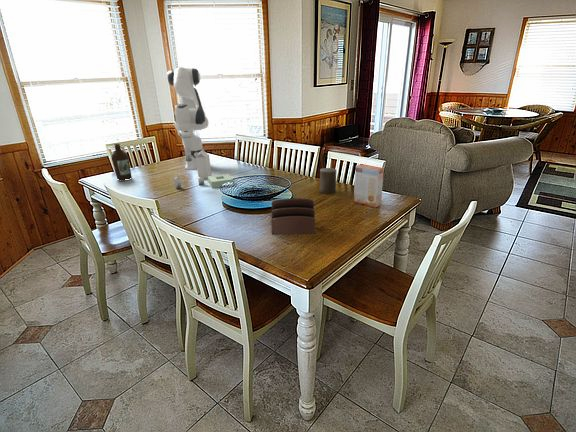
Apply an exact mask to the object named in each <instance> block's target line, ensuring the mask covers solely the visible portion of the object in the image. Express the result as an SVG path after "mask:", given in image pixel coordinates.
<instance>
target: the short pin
mask: <svg viewBox="0 0 576 432" xmlns="http://www.w3.org/2000/svg"><path fill="white" fill-rule="evenodd" d="M197 181H198V186H199V187H200V186H201V187H202V186H205V178H204V177H197Z"/></svg>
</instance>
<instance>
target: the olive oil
mask: <svg viewBox="0 0 576 432" xmlns="http://www.w3.org/2000/svg"><path fill="white" fill-rule="evenodd" d="M111 162H112V166H113V169H114V172H115V176H116V179H119V180H125V179H130V178H132V179H133V175H132V170H131V163H130V158H129V155H128V153H127V152H126V151H124V150H122V147H121V145H120V142H119V143H114V152H112V154H111Z"/></svg>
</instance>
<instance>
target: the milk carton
mask: <svg viewBox="0 0 576 432" xmlns="http://www.w3.org/2000/svg"><path fill="white" fill-rule="evenodd" d="M196 162H197V169H196V170H197V175H198V177H204V179H208V176H212V169H211V160H210V154H208V153H207V152H206V151H205V150H204V148H203V150H202V151H200V152H199V153H198V156H197V157H196ZM198 177H197V178H198Z"/></svg>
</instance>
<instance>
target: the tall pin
mask: <svg viewBox="0 0 576 432" xmlns="http://www.w3.org/2000/svg"><path fill="white" fill-rule="evenodd" d="M183 147H184V146H183ZM184 156H185V159H186V160H185V162H186V161H192V157H191V150H190V155H187V151H186V149H185V147H184Z"/></svg>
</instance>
